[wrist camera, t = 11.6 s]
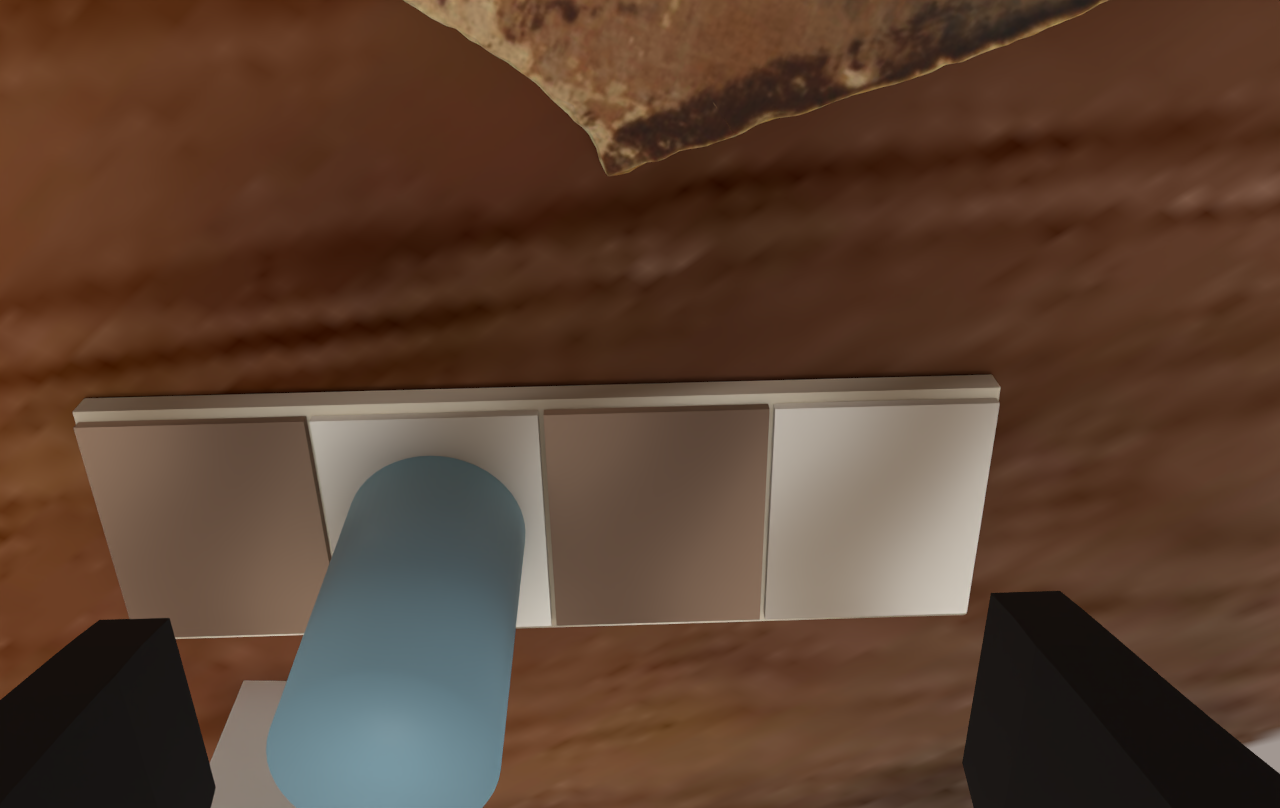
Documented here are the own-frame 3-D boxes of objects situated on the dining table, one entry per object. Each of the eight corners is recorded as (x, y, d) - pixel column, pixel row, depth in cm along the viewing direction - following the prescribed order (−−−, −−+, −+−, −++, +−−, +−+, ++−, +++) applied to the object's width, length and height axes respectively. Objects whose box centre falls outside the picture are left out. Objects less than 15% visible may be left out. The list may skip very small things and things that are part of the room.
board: (991, 374, 20) (1004, 392, 19) (957, 598, 22) (967, 621, 21) (84, 398, 19) (67, 417, 19) (148, 623, 22) (135, 647, 21)
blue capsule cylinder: (533, 465, 20) (510, 682, 15) (517, 609, 21) (491, 848, 16) (348, 446, 19) (263, 661, 14) (345, 593, 21) (267, 832, 16)
